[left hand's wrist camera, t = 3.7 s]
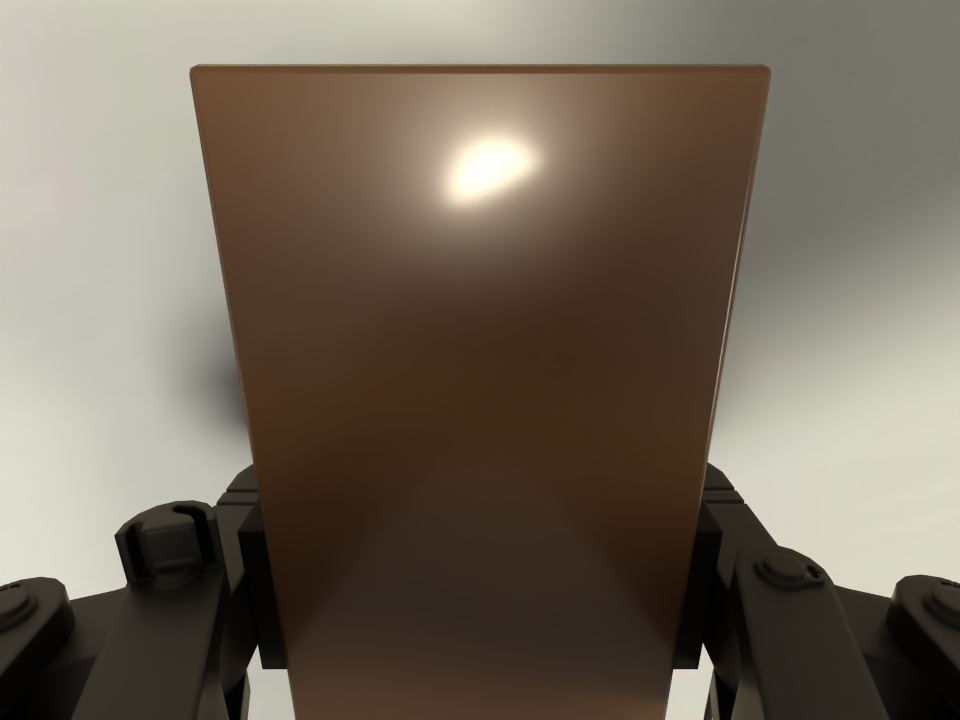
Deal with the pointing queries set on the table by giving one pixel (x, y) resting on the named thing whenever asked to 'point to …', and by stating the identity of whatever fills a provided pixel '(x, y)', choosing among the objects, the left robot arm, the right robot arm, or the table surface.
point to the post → (480, 367)
